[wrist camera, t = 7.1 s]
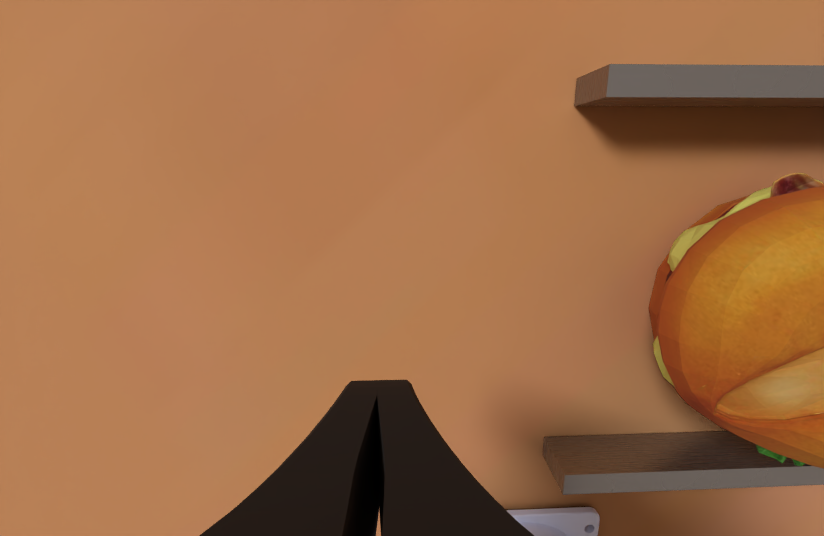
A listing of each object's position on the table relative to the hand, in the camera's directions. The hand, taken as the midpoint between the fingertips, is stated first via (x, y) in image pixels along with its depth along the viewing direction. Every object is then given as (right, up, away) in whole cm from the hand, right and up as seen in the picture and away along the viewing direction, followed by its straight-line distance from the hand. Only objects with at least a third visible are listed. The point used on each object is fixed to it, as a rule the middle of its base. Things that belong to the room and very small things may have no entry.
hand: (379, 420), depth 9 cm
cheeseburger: (+15, +2, +10) cm, 18 cm away
